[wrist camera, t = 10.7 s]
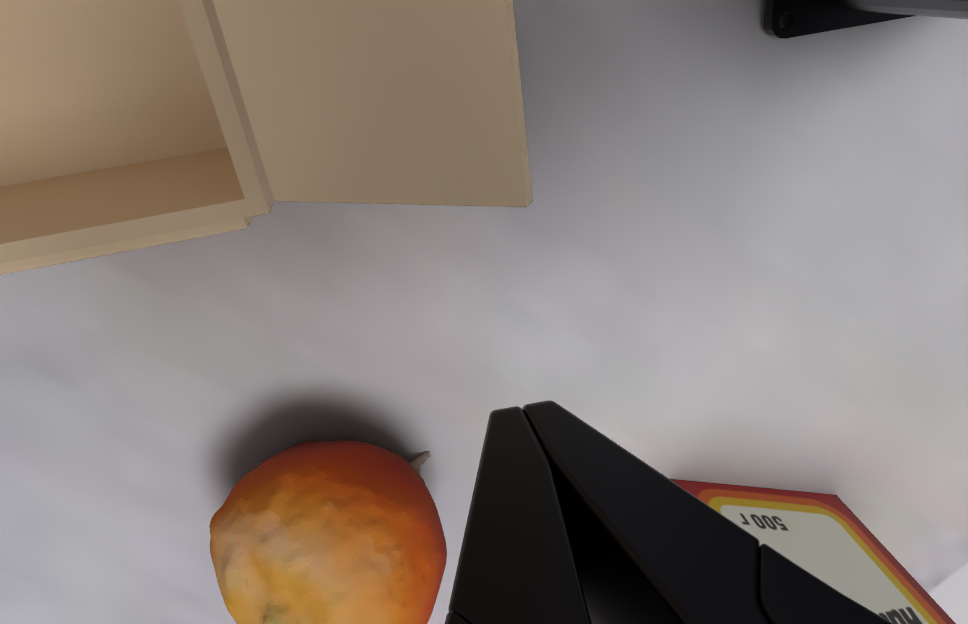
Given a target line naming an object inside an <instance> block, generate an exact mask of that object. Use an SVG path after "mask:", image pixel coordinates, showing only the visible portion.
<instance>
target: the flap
mask: <svg viewBox="0 0 968 624" xmlns="http://www.w3.org/2000/svg"><path fill="white" fill-rule="evenodd" d="M213 3H214V6H215V10H216V13H217V16H218V19H219V23H220V26H221V29H222V32H223V36H224V39H225V42H226V45H227V48H228V52H229V55H230V58H231V61H232V65H233V68H234V71H235V74H236V78H237V81H238V84H239V87H240V90H241V94H242V97H243V100H244V103H245V107H246V110H247V113H248V116H249V120H250V123H251V126H252V129H253V133H254V136H255V139H256V142H257V145H258V149H259V152H260V155H261V158H262V162H263V165H264V168H265V171H266V175H267V178H268V181H269V184H270V188H271V191H272V194H273V197H274V200H275V201H294V202H336V203H377V204H419V205H461V206H503V207H527V206H528V205H529V204H530V203H531V202H532V201H533V198H532V188H531V178H530V168H529V158H528V148H527V138H526V128H525V118H524V108H523V98H522V88H521V78H520V68H519V58H518V48H517V38H516V28H515V18H514V8H513V0H213Z"/></svg>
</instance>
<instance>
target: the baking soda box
mask: <svg viewBox="0 0 968 624" xmlns="http://www.w3.org/2000/svg"><path fill="white" fill-rule="evenodd" d="M670 480H671V481H673V482H674V483H676V484H677V485H679V486H680V487H682V488H683V489H685V490H686V491H688V492H689V493H691V494H692V495H694V496H695V497H697V498H698V499H700V500H701V501H703V502H704V503H706V504H707V505H709V506H710V507H712V508H713V509H715V510H716V511H718V512H719V513H720V514H722V515H723V516H725V517H726V518H728V519H729V520H731V521H732V522H734V523H735V524H737V525H738V526H740V527H741V528H743V529H744V530H746V531H747V532H749V533H750V534H752V535H753V536H755V537H756V538H758V539H759V541H760V545H761V544H767V545H768V546H770V547H771V548H773V549H774V550H776V551H777V552H779V553H780V554H782V555H783V556H785V557H786V558H788V559H789V560H791V561H792V562H794V563H795V564H797V565H798V566H800V567H802V568H803V569H805V570H806V571H808V572H809V573H811V574H812V575H814V576H816V577H817V578H819V579H820V580H822V581H823V582H825V583H826V584H828V585H830V586H831V587H833V588H834V589H836V590H837V591H839V592H841V593H842V594H844V595H845V596H847V597H849V598H851V599H852V600H854V601H856V602H857V603H859V604H861V605H863V606H864V607H866V608H868V609H869V610H871V611H873V612H874V613H876V614H878V615H880V616H881V617H883V618H885V619H886V620H888V621H890V622H891V623H893V624H956V623H955V622H954V621H953V620H952V619H951V618H950V617H949V616H948V615H947V614H946V613H945V612H944V610H943V609H942V608H941V607H940V606H939V605H938V604H937V603H936V602H935V601H934V600H933V599H932V598H931V596H930V595H929V594H928V593H927V592H926V591H925V590H924V589H923V588H922V587H921V586H920V585H919V584H918V582H917V581H916V580H915V579H914V578H913V577H912V576H911V575H910V574H909V573H908V572H907V571H906V570H905V568H904V567H903V566H902V565H901V564H900V563H899V562H898V561H897V560H896V559H895V558H894V557H893V556H892V554H891V553H890V552H889V551H888V550H887V549H886V548H885V547H884V546H883V545H882V544H881V543H880V542H879V540H878V539H877V538H876V537H875V536H874V535H873V534H872V533H871V532H870V531H869V530H868V529H867V528H866V526H865V525H864V524H863V523H862V522H861V521H860V520H859V519H858V518H857V517H856V516H855V515H854V514H853V512H852V511H851V510H850V509H849V508H848V507H847V506H846V505H845V504H844V503H843V502H842V501H841V500H840V498H839V497H838V496H837V495H832V494H821V493H811V492H800V491H790V490H779V489H769V488H758V487H748V486H737V485H727V484H717V483H706V482H696V481H685V480H675V479H670Z"/></svg>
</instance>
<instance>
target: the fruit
mask: <svg viewBox="0 0 968 624" xmlns="http://www.w3.org/2000/svg"><path fill="white" fill-rule="evenodd" d="M428 457H430V455H429V451H425V453H424V454H422V455H421V456H419V457H418V458H417V459H415V460H413V461H412V462H407V461H406V460H405V459H404V458H403V457H402V456H401V455H400V454H397V453H395V452H392V451H390V450H387V449H385V448H382V447H379V446H376V445H373V444H370V443H366V442H361V441H354V440H342V441H305V442H301V443H298V444H296V445H293V446H291V447H289V448H287V449H285V450H283V451H282V452H280V453H278V454H276V455H274V456H272V457H270V458H269V459H267V460H265V461H264V462H263V463H262V464H260V465H259V466H258V467H256V468H255V469H254V470H252V471H251V472H249V473H248V474H246V475H245V476H244V477H243V478H242V479H241V480H240V481H239V482H238V483H237V484H236V485H235V486H234V488H233V489H232V490H231V492H230V494H229V496H228V497H227V499H226V501H225V502H224V504H223V505H222V507H221V508H220V509H219V510H218V511H217V512H216V513H215V514H214V516H213V517H212V519H211V522H210V535H211V540H210V553H211V558H212V561H213V564H214V568H215V572H216V576H217V581H218V584H219V588H220V591H221V594H222V597H223V599H224V602H225V605H226V607H227V609H228V612H229V613H230V614H231V616H232V617H233V619H234V620H235V621H236V623H237V624H427V623H428V621H429V619H430V616H431V614H432V611H433V608H434V605H435V601H436V598H437V595H438V591H439V588H440V584H441V581H442V577H443V573H444V569H445V565H446V557H447V549H446V542H445V537H444V533H443V529H442V525H441V522H440V518H439V515H438V511H437V508H436V506H435V503H434V501H433V499H432V497H431V495H430V493H429V491H428V489H427V487H426V485H425V483H424V481H423V479H422V477H421V476H420V474H419V469H420V466H421V464H423V463H424V462H425V461H426V460H427V459H428Z"/></svg>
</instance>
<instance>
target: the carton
mask: <svg viewBox="0 0 968 624" xmlns="http://www.w3.org/2000/svg"><path fill="white" fill-rule="evenodd" d="M273 202H274V197H273V194H272V191H271V188H270V184H269V181H268V178H267V175H266V171H265V168H264V165H263V162H262V158H261V155H260V152H259V149H258V145H257V142H256V139H255V136H254V133H253V129H252V126H251V123H250V120H249V116H248V113H247V110H246V107H245V103H244V100H243V97H242V94H241V90H240V87H239V84H238V81H237V78H236V74H235V71H234V68H233V65H232V61H231V58H230V55H229V52H228V48H227V45H226V42H225V39H224V36H223V32H222V29H221V26H220V23H219V19H218V16H217V13H216V10H215V6H214V3H213V0H0V275H2V274H8V273H13V272H18V271H24V270H29V269H34V268H40V267H45V266H50V265H56V264H61V263H66V262H72V261H77V260H82V259H87V258H93V257H98V256H103V255H109V254H114V253H119V252H125V251H130V250H135V249H141V248H146V247H151V246H157V245H162V244H167V243H172V242H178V241H183V240H188V239H194V238H199V237H204V236H210V235H215V234H220V233H226V232H231V231H236V230H242V229H247V227H248V225H249V223H250V220H251V218H252V217H253V216H258V215H264V214H269V213H270V211H271V208H272V205H273Z"/></svg>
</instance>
